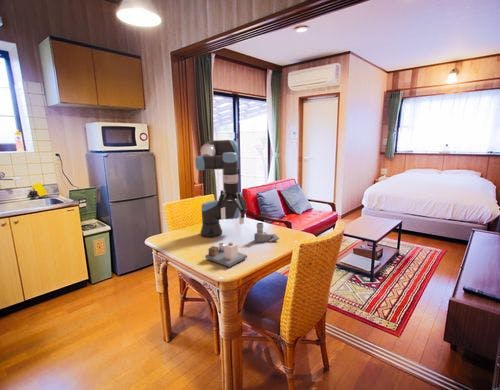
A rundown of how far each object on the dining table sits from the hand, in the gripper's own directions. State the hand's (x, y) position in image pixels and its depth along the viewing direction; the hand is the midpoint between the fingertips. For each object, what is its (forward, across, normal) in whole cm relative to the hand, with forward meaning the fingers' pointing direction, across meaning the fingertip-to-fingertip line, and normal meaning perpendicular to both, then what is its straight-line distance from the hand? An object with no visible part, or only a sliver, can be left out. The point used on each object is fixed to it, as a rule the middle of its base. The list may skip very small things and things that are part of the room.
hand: (232, 221), depth 148 cm
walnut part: (+19, -8, -7) cm, 22 cm away
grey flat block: (+21, -2, -4) cm, 22 cm away
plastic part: (+19, +2, -4) cm, 19 cm away
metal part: (+19, -8, -1) cm, 20 cm away
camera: (+22, -2, +33) cm, 40 cm away
